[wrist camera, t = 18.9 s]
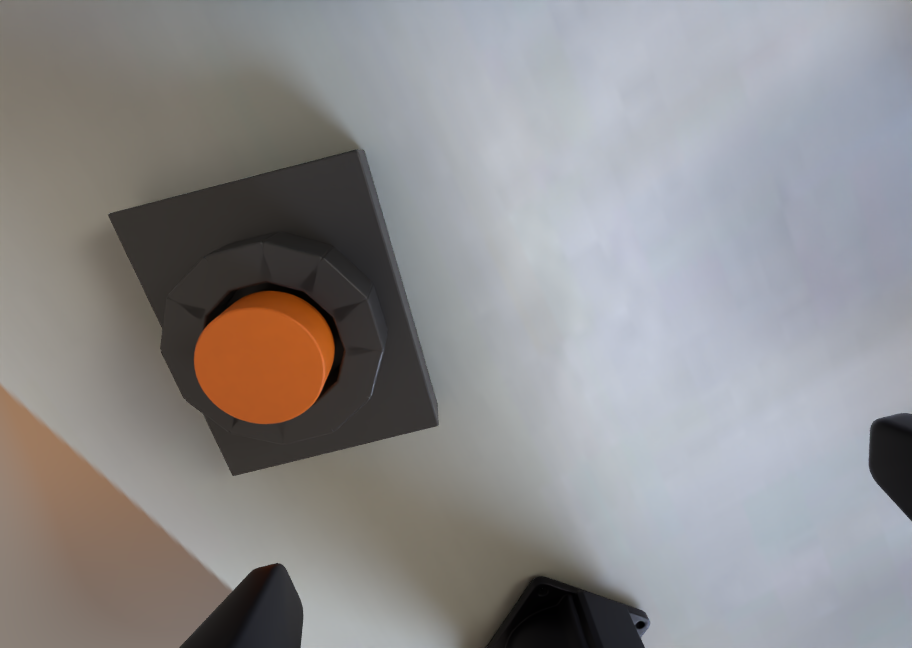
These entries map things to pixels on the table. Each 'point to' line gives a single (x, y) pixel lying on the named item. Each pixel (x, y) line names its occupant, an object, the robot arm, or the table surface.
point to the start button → (265, 357)
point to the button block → (295, 272)
